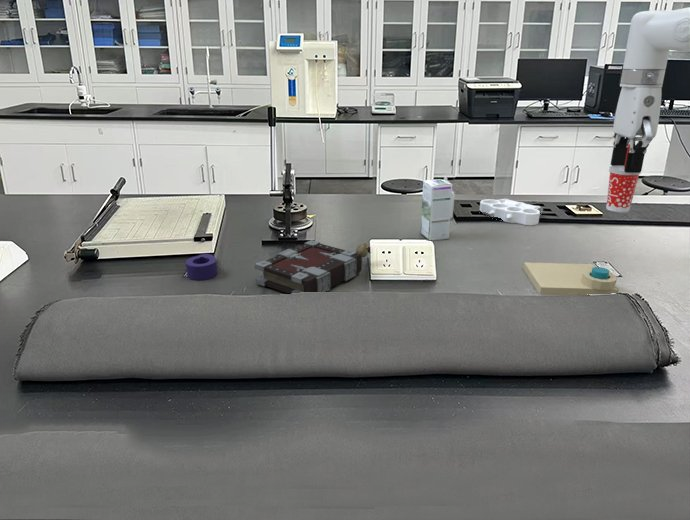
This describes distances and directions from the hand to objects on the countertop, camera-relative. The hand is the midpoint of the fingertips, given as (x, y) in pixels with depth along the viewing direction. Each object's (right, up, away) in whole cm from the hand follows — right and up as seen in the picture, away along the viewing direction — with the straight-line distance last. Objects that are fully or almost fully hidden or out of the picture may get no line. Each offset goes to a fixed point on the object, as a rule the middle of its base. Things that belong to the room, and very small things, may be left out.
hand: (625, 168), depth 112 cm
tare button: (-8, -23, -6) cm, 25 cm away
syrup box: (-36, -14, +25) cm, 46 cm away
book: (-65, -23, +3) cm, 68 cm away
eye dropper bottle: (-31, -8, +40) cm, 51 cm away
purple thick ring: (-90, -22, +5) cm, 93 cm away
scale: (-13, -24, -1) cm, 27 cm away
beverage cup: (0, -9, +3) cm, 9 cm away
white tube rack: (-11, -7, +42) cm, 44 cm away
